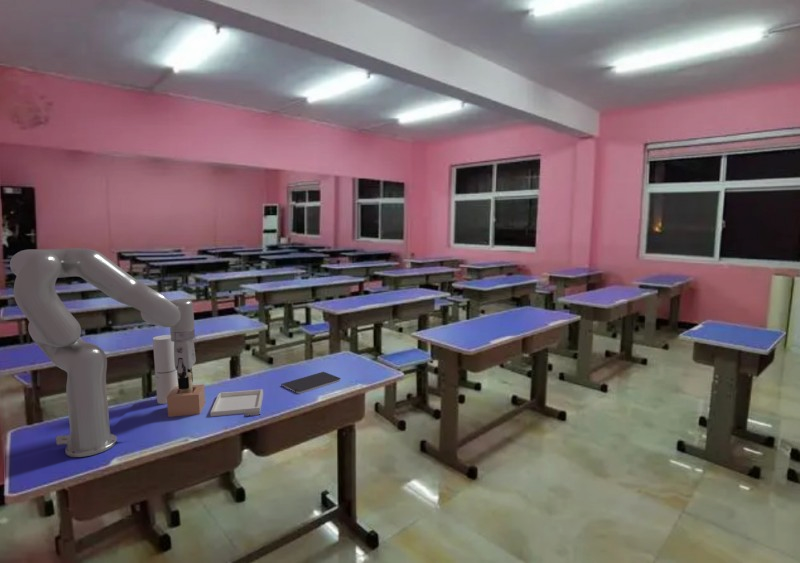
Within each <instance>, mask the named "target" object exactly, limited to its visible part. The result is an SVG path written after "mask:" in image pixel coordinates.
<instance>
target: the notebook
mask: <svg viewBox="0 0 800 563" xmlns="http://www.w3.org/2000/svg"><path fill="white" fill-rule="evenodd" d="M337 382H341V377H338V376H336V375H333V374H330V373H328V372H326V371H321V372H316V373H314V374H311V375H306V376H304V377H301V378H297V379H293V380H291V381H286V382H282V383H281V387H283V386H284V387H283V388H285V387H286V388H285V389H287V390H289V389H290V391H291V390H292V392H293V391H294V393H295V394H304V393H307V392H309V391H312V390H317V389H319V388H322V387H325V386H330V385H332V384H335V383H336V384H337Z"/></svg>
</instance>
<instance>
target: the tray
mask: <svg viewBox="0 0 800 563" xmlns="http://www.w3.org/2000/svg"><path fill="white" fill-rule="evenodd" d="M263 399H264V389H263V388H261V389H251V390H250V389H249V390H239V391H238V390H237V391H226V392H225V391H223V392H219V393H218V395H217V397H216V399H215V401H214V403H213V406H212V408H211V410H210V417H219V416H220V417H221V416H231V415H239V414H240V415H243V414H244V415H243V416H244V417H246V416H249V415H250V416H257V415H258V416H259V414H260V415H261V410H262V406H263V405H262V404H263ZM250 416H249V417H250Z"/></svg>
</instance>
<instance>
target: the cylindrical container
mask: <svg viewBox="0 0 800 563" xmlns="http://www.w3.org/2000/svg"><path fill="white" fill-rule="evenodd" d="M152 348H153V360H154V376H155V389H156V403H158V404H160V405H167V396H168V395H169V393H170V392H171V391H172V389H173V388H174V387H177V386H179V385H178V370H176V369H175V363H174V342H172V341H171V334H163V335H156V336H154V337H152Z"/></svg>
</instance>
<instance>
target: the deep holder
mask: <svg viewBox="0 0 800 563" xmlns="http://www.w3.org/2000/svg"><path fill="white" fill-rule="evenodd" d="M192 388H193V393H183V394H180V389H179V385H178V386H177V387H174V388H173V389H172V391H171V392H170V393H169V395H168V396H167V404H166V405H167V406H166V408H167V417H168V418H172V417H182V416H194V415H195V416H196V415H200V414H201V413H202V411H203V409H204V406H205V404H206V391H205V389H206V388H205V384H192Z"/></svg>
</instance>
